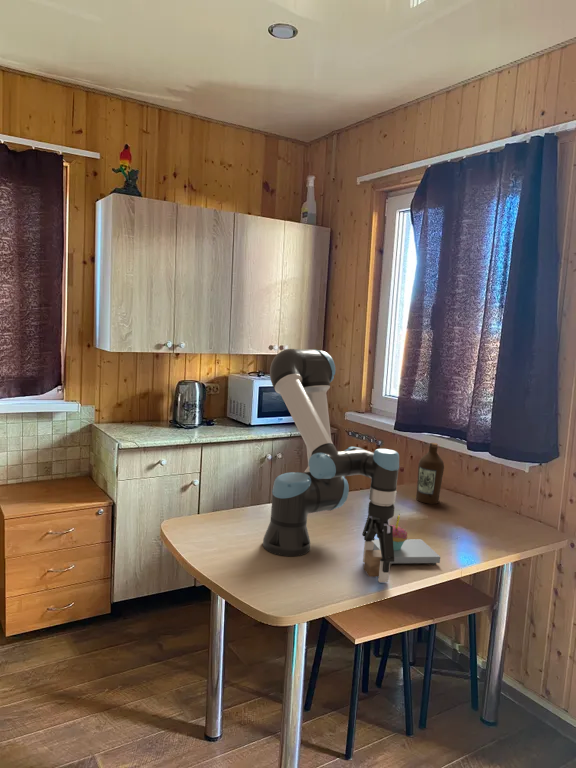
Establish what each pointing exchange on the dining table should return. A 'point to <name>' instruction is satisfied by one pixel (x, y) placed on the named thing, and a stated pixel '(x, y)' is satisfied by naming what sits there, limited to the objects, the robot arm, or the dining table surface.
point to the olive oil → (430, 476)
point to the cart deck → (412, 552)
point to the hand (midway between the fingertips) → (374, 571)
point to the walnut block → (372, 562)
